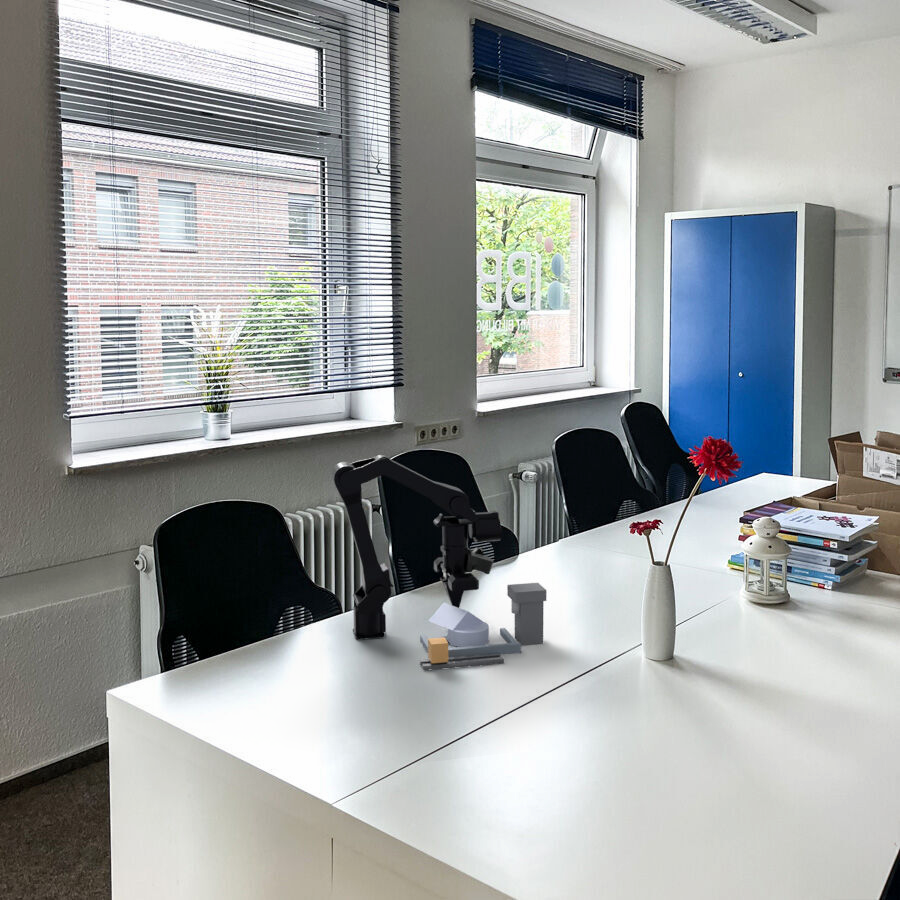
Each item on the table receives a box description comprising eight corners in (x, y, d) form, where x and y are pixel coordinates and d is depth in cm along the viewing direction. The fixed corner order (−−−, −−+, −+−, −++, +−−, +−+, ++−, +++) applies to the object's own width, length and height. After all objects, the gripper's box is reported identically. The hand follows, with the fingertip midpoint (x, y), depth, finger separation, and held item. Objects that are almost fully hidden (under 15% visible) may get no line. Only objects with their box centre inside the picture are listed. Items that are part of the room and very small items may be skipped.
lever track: (423, 670, 201) (423, 666, 201) (419, 664, 205) (419, 660, 205) (504, 663, 205) (504, 658, 205) (499, 657, 209) (499, 652, 208)
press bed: (431, 660, 207) (430, 604, 205) (420, 641, 219) (419, 587, 217) (551, 650, 213) (552, 595, 211) (534, 632, 224) (534, 579, 223)
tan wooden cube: (431, 668, 202) (431, 644, 201) (428, 662, 205) (427, 638, 204) (448, 666, 203) (448, 643, 202) (444, 660, 206) (444, 637, 205)
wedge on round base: (428, 635, 223) (465, 650, 213) (428, 606, 222) (465, 620, 212) (459, 626, 228) (497, 641, 218) (459, 598, 227) (497, 612, 217)
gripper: (501, 551, 218) (501, 619, 220) (478, 531, 236) (479, 594, 238) (451, 555, 215) (452, 624, 218) (432, 534, 233) (434, 598, 236)
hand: (456, 609), depth 227 cm, fingers closed
